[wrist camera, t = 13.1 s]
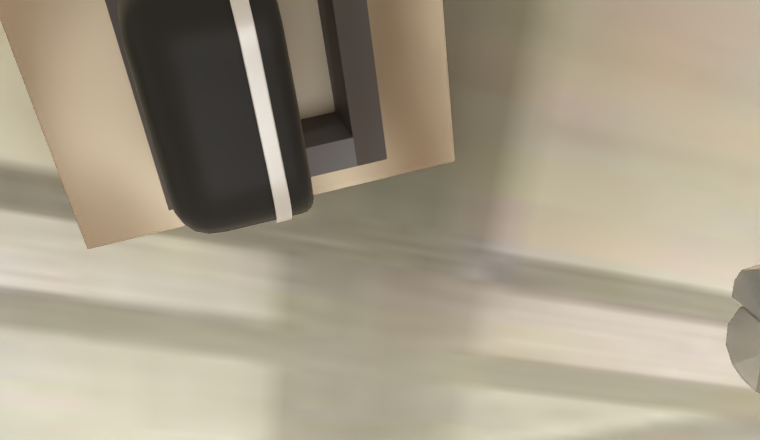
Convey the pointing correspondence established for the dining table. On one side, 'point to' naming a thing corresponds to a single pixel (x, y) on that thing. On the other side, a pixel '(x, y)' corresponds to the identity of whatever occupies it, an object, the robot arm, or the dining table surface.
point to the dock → (312, 85)
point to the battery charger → (219, 109)
